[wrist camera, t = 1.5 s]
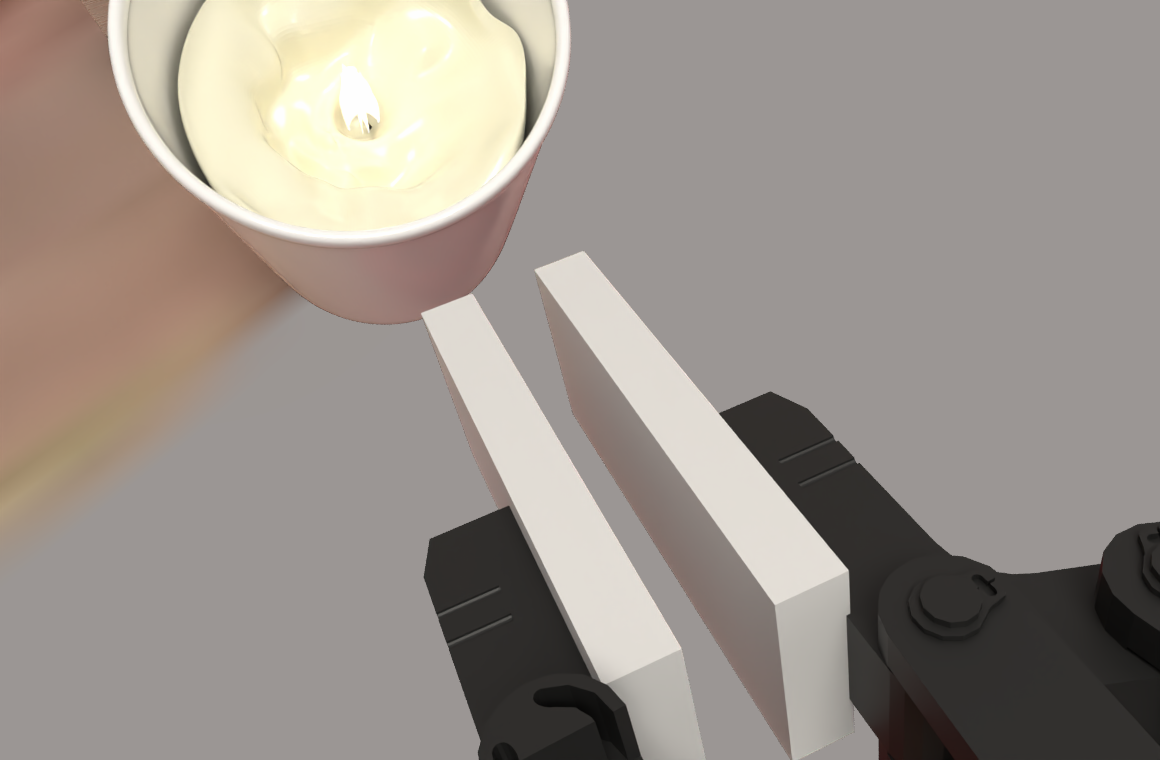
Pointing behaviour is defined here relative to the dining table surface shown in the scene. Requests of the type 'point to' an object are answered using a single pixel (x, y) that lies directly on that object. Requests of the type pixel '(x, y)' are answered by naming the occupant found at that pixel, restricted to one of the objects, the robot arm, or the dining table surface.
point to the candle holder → (350, 132)
